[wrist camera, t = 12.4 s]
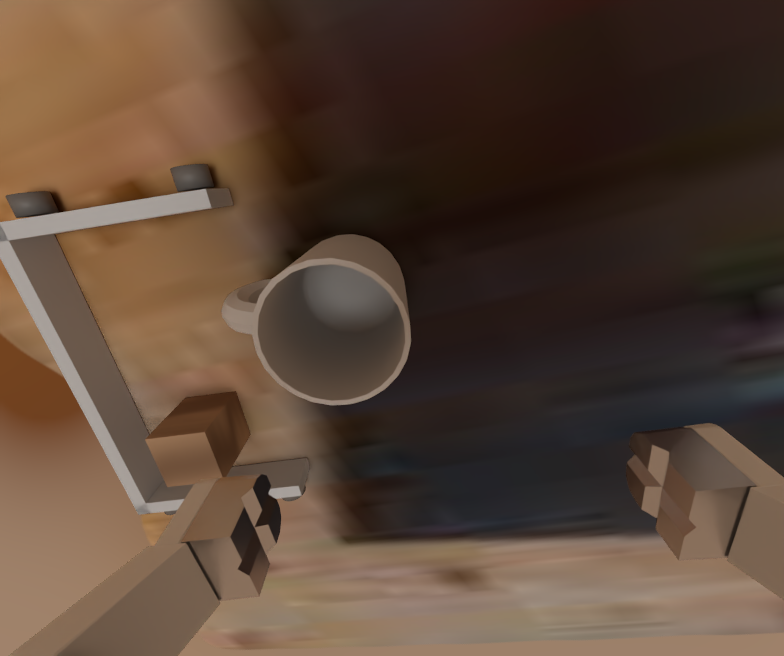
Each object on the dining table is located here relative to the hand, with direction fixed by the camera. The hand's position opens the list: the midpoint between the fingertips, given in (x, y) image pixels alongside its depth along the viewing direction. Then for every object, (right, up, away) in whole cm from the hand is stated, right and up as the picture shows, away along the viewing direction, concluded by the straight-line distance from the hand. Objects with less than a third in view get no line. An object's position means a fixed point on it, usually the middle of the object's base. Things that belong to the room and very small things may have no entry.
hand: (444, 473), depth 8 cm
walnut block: (-15, -4, +20) cm, 26 cm away
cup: (-5, +6, +17) cm, 19 cm away
